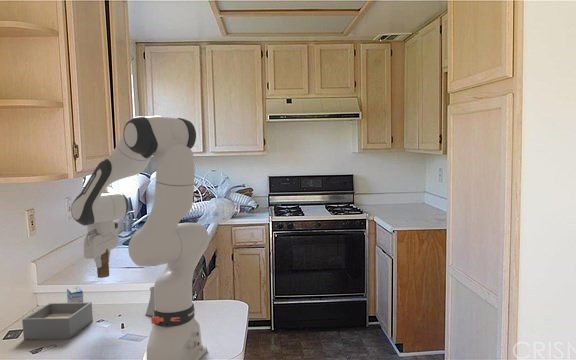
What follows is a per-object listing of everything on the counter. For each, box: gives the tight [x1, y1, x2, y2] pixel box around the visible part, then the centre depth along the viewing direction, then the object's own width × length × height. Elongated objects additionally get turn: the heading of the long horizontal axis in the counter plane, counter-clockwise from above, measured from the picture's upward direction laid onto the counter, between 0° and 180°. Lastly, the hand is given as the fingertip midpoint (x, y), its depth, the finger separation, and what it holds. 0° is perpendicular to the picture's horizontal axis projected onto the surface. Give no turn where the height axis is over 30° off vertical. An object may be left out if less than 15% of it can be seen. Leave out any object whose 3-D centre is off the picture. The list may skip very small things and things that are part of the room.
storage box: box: [21, 301, 94, 341], centre depth 160 cm, size 16×16×7 cm
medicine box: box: [66, 286, 85, 303], centre depth 179 cm, size 8×4×9 cm, turn 37°
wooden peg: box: [96, 249, 110, 279], centre depth 165 cm, size 4×4×10 cm
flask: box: [145, 286, 155, 317], centre depth 174 cm, size 7×7×10 cm
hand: (102, 265), depth 165 cm, fingers closed on wooden peg, 4 cm apart
